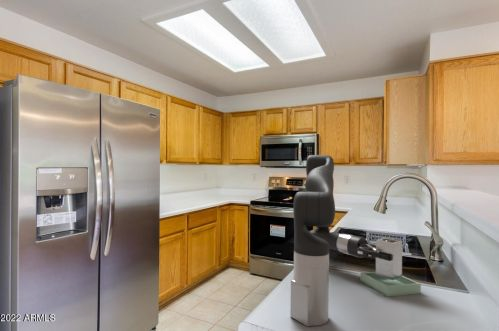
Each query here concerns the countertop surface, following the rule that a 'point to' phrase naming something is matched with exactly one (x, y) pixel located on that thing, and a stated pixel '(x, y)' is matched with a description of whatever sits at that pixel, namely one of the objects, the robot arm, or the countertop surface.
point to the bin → (391, 284)
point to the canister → (389, 267)
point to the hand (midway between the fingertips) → (396, 256)
